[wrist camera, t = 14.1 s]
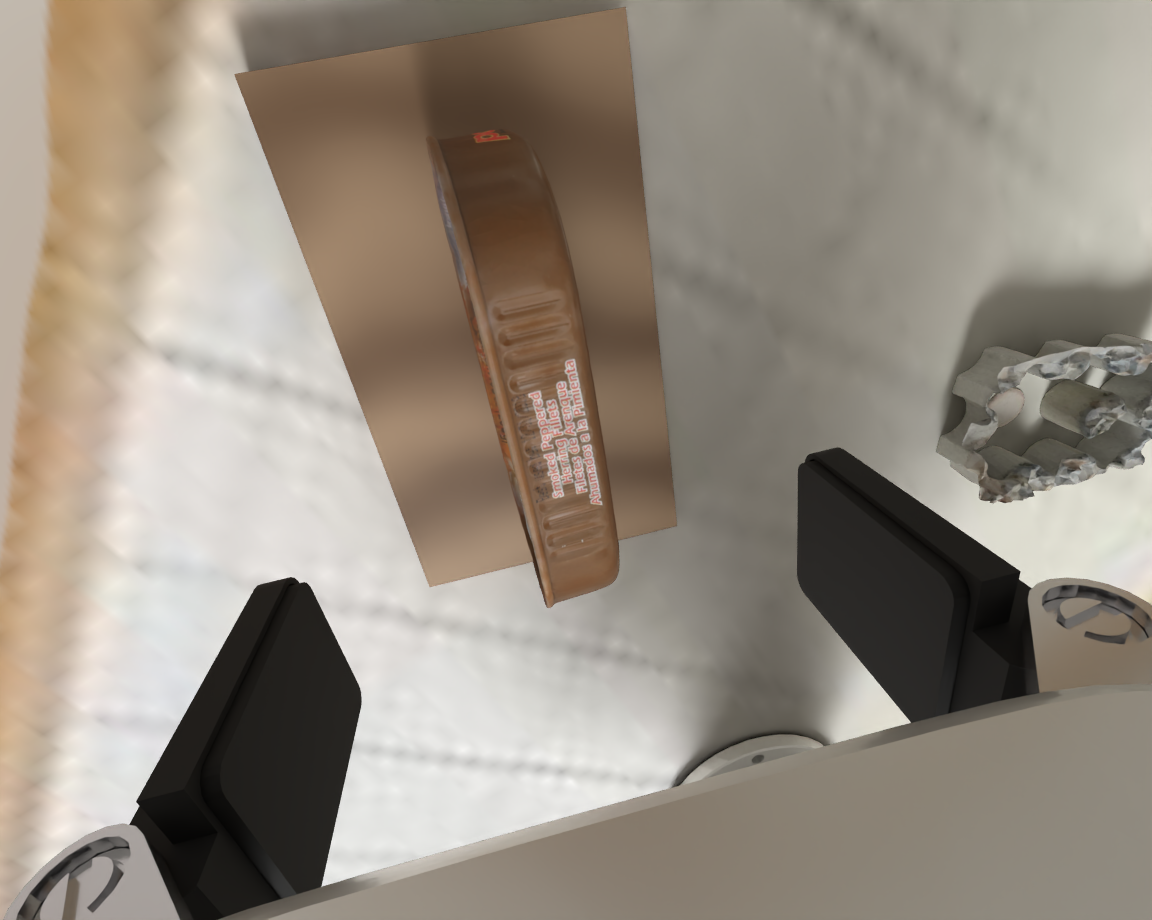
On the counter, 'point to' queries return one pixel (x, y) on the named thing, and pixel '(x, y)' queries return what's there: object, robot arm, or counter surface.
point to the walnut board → (427, 273)
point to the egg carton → (1053, 416)
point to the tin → (531, 352)
